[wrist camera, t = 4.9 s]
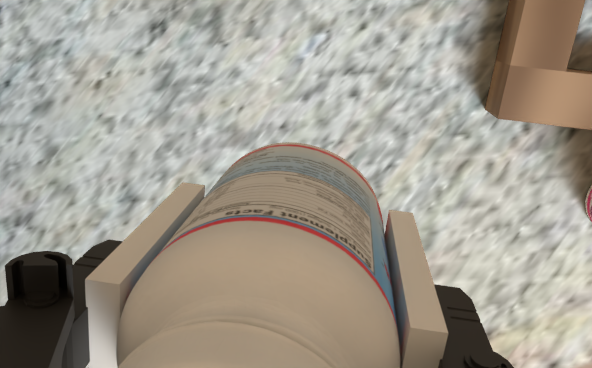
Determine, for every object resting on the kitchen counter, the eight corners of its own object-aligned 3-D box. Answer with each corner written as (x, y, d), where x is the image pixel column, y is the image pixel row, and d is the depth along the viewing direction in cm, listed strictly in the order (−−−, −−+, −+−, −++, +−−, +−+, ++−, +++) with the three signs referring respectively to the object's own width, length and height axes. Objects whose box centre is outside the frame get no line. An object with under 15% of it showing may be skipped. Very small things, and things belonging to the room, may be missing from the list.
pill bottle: (333, 319, 19) (308, 685, 9) (188, 248, 19) (-16, 540, 9) (414, 186, 17) (508, 453, 7) (254, 105, 17) (94, 254, 7)
